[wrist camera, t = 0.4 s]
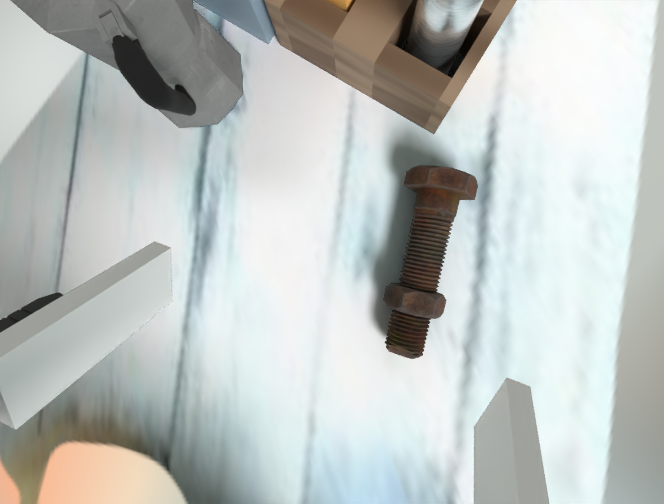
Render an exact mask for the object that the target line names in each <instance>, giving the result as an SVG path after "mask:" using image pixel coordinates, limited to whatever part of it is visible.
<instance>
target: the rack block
mask: <svg viewBox="0 0 664 504" xmlns="http://www.w3.org/2000/svg"><path fill="white" fill-rule="evenodd" d="M193 1H195V2H197V3H198V4H200V5H202V6H204V7H205V8H207V9H209V10H210V11H212V12H214V13H216V14H217V15H219V16H221V17H222V18H224V19H226V20H228V21H229V22H231V23H233V24H234V25H236V26H238V27H240V28H241V29H243V30H245V31H246V32H248V33H250V34H252V35H253V36H255V37H257V38H258V39H260V40H262V41H264V42H265V43H267V44H269V42H270V40H271V39H272V37H273V35H274V34H275V32H276V31H275V29H274V26H273V23H272V20H271V17H270V15H269V12H268V9H267V6H266V3H265V1H264V0H193Z"/></svg>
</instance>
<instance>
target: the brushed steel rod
mask: <svg viewBox="0 0 664 504" xmlns="http://www.w3.org/2000/svg"><path fill="white" fill-rule="evenodd" d="M483 1H484V0H417V4H416V8H415V12H414V17H413V21H412V25H411V29H410V34H409V38H408V42H407V46H406V51H405V52H407V53H409V54H410V55H412V56H414V57H416V58H417V59H419V60H421V61H423V62H424V63H426V64H428V65H430V66H431V67H433V68H435V69H437V70H438V71H440V72H442V73H444V74H445V75H447V74H448V72H449V70H450V68H451V66H452V64H453V62H454V60H455V58H456V56H457V54H458V52H459V50H460V48H461V46H462V44H463V42H464V40H465V38H466V36H467V34H468V31H469V29H470V27H471V25H472V23H473V21H474V19H475V17H476V15H477V13H478V11H479V9H480V7H481V5H482V3H483Z"/></svg>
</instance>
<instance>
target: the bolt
mask: <svg viewBox="0 0 664 504" xmlns="http://www.w3.org/2000/svg"><path fill="white" fill-rule="evenodd" d="M404 186H406V187H408V188H409V189H411V190H413V191H414V192H416V193H417V196H416V201H415V205H414V215H413V217H414V219H412V221H413V223H411V224H412V225H413V227H411V229H412V231H410V233H411V235H409V237H410V238H411V239H408V241H409V242H410V243H407V245H408V246H409V247H406V249H407V250H408V251H405V252H406V253H407V255H404V256H405V257H406V258H405V259H403V260H404V261H405V262H404V263H403V265H404V266H403V267H402V269H403V271H401V272H402V273H403V274H402V275H400V276H401V277H402V278H401V279H399V280H400V281H401V282H400V283H391V284H389V285H388V286H387V287H386V290H385V295H384V299H383V300H384V301H385V303H386V305H387V306H388V307H390V308H392V309H394V310H392V312H393V314H392V315H391V316H392V318H390V319H391V320H392V321H391V322H389V323H390V324H391V325H389V326H388V327H389V328H390V329H389V330H387V331H388V332H389V333H388V334H387V336H388V337H386V340H387V341H385V343H386V345H387V346H386V348H387V349H388V350H389V352H392V353H395V354H398V355H401V356H404V357H407V358H410V359H415V358H418V357H420V356H422V355H423V353H422V352H423V351H424V349H423V348H424V347H425V346H424V344H425V341H424V340H426V337H425V336H427V333H426V332H428V329H427V328H429V325H428V324H429V323H430V321H429V320H430V319H431V318H432V319H436V318H439V317H440V316H441V315H442V314H443V312H444V308H445V304H446V299H445V297H444V295H443V294H440V293H438V292H436V291H438V290H437V289H436V288H437V287H439V286H438V285H437V284H438V283H439V281H438V279H440V277H439V275H441V273H440V271H442V269H441V267H443V265H442V264H441V263H444V261H443V260H442V259H445V257H444V256H443V255H445V254H446V253H445V252H444V251H446V250H447V249H445V247H447V245H446V244H445V243H448V240H446V239H448V238H450V237H449V236H447V235H450V234H451V233H450V232H449V231H450V230H451V228H450V227H451V226H452V224H451V223H452V222H453V221H454V217H455V216H456V213H457V209H458V205H459V200H475V197H476V192H477V188H478V185H477V180H476V178H475V177H474V176H473V175H470V174H468V173H466V172H463V171H460V170H457V169H453V168H448V167H440V166H426V165H419V166H416V167H413V168H412V169H410V170H409V171H407V173H406V177H405V181H404Z"/></svg>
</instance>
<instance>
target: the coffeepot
mask: <svg viewBox="0 0 664 504" xmlns="http://www.w3.org/2000/svg"><path fill="white" fill-rule="evenodd" d="M11 1H12V2H13V3H14V4H16V5H17V6H18V7H19V8H20V9H21V10H22V11H23V12H25V13H26V14H27V15H28V16H29V17H30V18H32V19H33V20H34V21H35V22H36V23H37V24H38V25H40V26H41V27H42V28H43V29H44V30H45V31H47V32H48V33H49V34H52V35H54V36H56V37H58V38H60V39H62V40H64V41H66V42H67V43H69V44H71V45H73V46H75V47H77V48H79V49H81V50H82V51H84V52H86V53H88V54H90V55H92V56H94V57H96V58H97V59H99V60H101V61H103V62H105V63H107V64H109V65H111V66H112V67H114V68H116V69H118V70H120V72H121V73H122V75H123V76H124V77H125V79H126V80H127V81H128V82H129V84H130V85H131V86H132V88H133V89H134V90H135V92H136V93H137V94H138V95H139V97H140V98H141V99H142V100H143V101H145V102H146V103H147V104H149V105H150V106H152V107H154V108H156V109H158V110H159V111H160V112H162V113H163V114H164V115H165V116H166V117H167V118H169V119H170V120H171V121H172V122H173V123H174V124H176V125H177V126H178V127H179V128H186V127H203V126H208V125H214V124H218V123H219V122H220V121H221V120H222V119H223V118H224V117H225V116H226V115H227V114H228V113H229V112H230V111H231V110H232V109H233V107H234V106H235V104H236V103H237V101H238V99H239V98H240V97H241V96H242V94H243V74H242V69H241V56H240V54H239V53H238V52H237V51H236V50H235V49H234V48H233V47H232V46H231V45H230V44H229V43H228V42H227V41H226V40H225V39H224V38H223V37H222V36H221V35H220V34H219V33H218V32H217V30H216V29H215V28H214V27H213V26H212V25H211V24H210V23H209V22H208V21H207V20H206V19H205V18H204V17H203V16H201V15H200V14H199V13H198V12H197V11H196V10H195V9H194V8H193V1H192V0H11Z"/></svg>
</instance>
